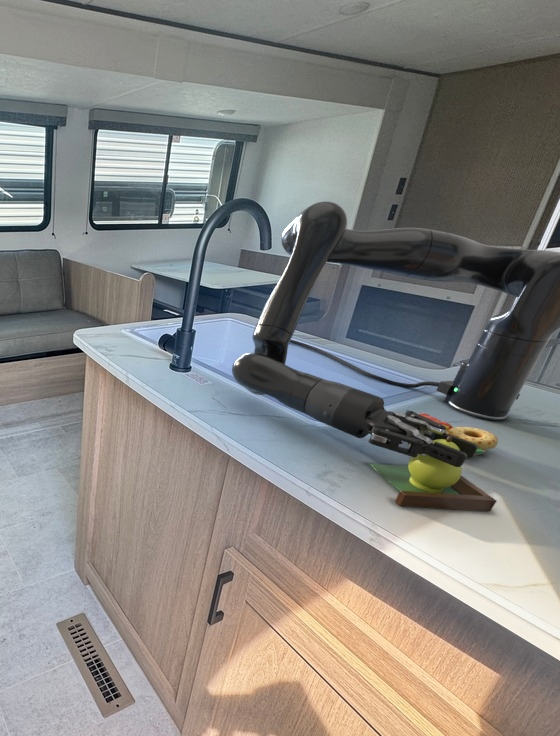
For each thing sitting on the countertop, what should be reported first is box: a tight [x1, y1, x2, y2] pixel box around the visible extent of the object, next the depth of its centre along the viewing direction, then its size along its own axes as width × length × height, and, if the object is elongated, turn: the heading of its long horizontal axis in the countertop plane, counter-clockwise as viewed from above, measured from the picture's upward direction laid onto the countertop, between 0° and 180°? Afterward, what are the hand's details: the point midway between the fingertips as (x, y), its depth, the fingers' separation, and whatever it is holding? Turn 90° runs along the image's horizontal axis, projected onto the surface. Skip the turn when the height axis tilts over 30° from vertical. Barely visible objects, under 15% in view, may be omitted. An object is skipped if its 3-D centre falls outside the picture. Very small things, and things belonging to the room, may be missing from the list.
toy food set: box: [419, 413, 499, 456], centre depth 79 cm, size 13×13×3 cm
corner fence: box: [369, 463, 498, 512], centre depth 67 cm, size 13×13×2 cm
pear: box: [407, 436, 462, 493], centre depth 64 cm, size 6×6×9 cm
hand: (468, 456), depth 61 cm, fingers open, 4 cm apart
